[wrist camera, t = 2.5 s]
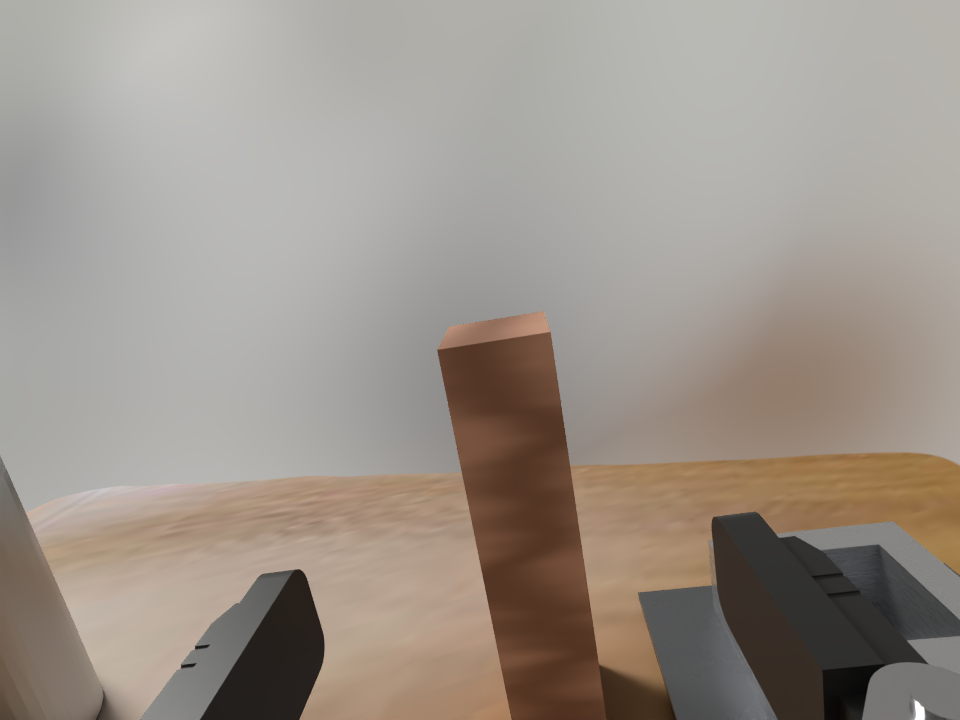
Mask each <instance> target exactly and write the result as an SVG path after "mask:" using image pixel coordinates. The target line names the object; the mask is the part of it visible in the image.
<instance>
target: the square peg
mask: <svg viewBox="0 0 960 720" xmlns="http://www.w3.org/2000/svg"><path fill="white" fill-rule="evenodd" d="M437 351H438V356H439V361H440V366H441V371H442V375H443V381H444V386H445V390H446V395H447V401H448V406H449V410H450V415H451V420H452V425H453V430H454V435H455V440H456V445H457V450H458V455H459V460H460V464H461V470H462V475H463V480H464V485H465V490H466V495H467V500H468V505H469V510H470V515H471V520H472V525H473V530H474V535H475V540H476V545H477V550H478V555H479V560H480V564H481V569H482V574H483V579H484V584H485V589H486V594H487V599H488V604H489V609H490V614H491V619H492V624H493V629H494V634H495V639H496V644H497V649H498V654H499V659H500V664H501V669H502V674H503V679H504V684H505V689H506V694H507V699H508V704H509V709H510V714H511V718H512V720H607V718H606V711H605V704H604V697H603V690H602V683H601V676H600V669H599V663H598V656H597V649H596V642H595V635H594V628H593V621H592V614H591V608H590V601H589V594H588V587H587V580H586V573H585V566H584V559H583V552H582V546H581V539H580V532H579V525H578V518H577V511H576V504H575V497H574V490H573V484H572V477H571V470H570V463H569V456H568V449H567V442H566V435H565V428H564V422H563V415H562V408H561V401H560V394H559V387H558V380H557V373H556V366H555V360H554V353H553V346H552V339H551V333H550V329H549V326H548V323H547V320H546V317H545V314H544V312H537V313H531V314H525V315H519V316H513V317H506V318H500V319H494V320H488V321H481V322H475V323H469V324H463V325H457V326H451V327H449V329H448V331H447V333H446V334H445V336H444V338H443V340H442V342H441V344H440V346H439V348H438V349H437Z"/></svg>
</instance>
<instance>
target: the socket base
mask: <svg viewBox="0 0 960 720" xmlns="http://www.w3.org/2000/svg"><path fill="white" fill-rule="evenodd" d="M776 535H777V536H778V537H779V538H782V537H790V536H796V537H798V538H800V539H801V540H803V541H805V542H807V543H809V544H810V545H812V546H814V547H816V548H818V549H819V550H821V551H823V552H824V553H825V554H826V555H827V556H828V557H829V558H830V559H831V560H832V561H833V563H834V564H835V565H836V566H837V567H838V568H839V569H840V570H841V571H842V572H843V575H844V577H848V579H849V580H850V581H851V582H852V583H853V584H854V585H855V586H856V587H857V588H858V589H859V590H860V594H861V595H864V596H865V597H866V598H867V599H868V600H869V601H870V602H871V603H872V604H873V605H874V606H875V607H876V608H877V609H878V610H879V612H880V613H881V614H882V615H883V616H884V617H885V618H886V619H887V620H888V621H889V622H890V623H891V624H892V625H893V626H894V628H895V629H896V630H897V631H898V632H899V633H900V634H901V635H902V636H903V637H904V638H905V639H906V640H907V641H908V642H909V644H910V645H911V646H912V647H913V648H914V649H915V650H916V651H917V652H918V653H919V654H920V655H921V656H922V657H923V658H924V660H925V661H926V662H927V663H928V664H929V665H933V666H937V667H941V668H945V669H947V670H950V671H953V672H956V673H958V674H960V576H959V575H958V574H957V573H956V572H955V571H953V570H952V569H951V568H950V567H949V566H947V565H946V564H945V563H942V562H941V561H940V560H939V559H937V558H936V557H935V556H934V555H933V554H931V553H930V552H929V551H928V550H927V549H925V548H924V547H923V546H922V545H921V544H919V543H918V542H917V541H916V540H915V539H913V538H912V537H911V536H910V535H909V534H908V533H906V532H905V531H904V530H903V529H902V528H900V527H899V526H898V525H897V524H896V523H894V522H893V521H892V522H882V523H873V524H863V525H854V526H844V527H835V528H826V529H816V530H807V531H797V532H788V533H779V534H776ZM708 542H709V555H710V567H711V580H712V586H703V587H692V588H682V589H672V590H661V591H651V592H640V593H638V595H639V601H640V604H641V608H642V611H643V614H644V618H645V621H646V624H647V628H648V631H649V634H650V637H651V641H652V644H653V647H654V651H655V654H656V657H657V661H658V664H659V667H660V671H661V674H662V677H663V681H664V684H665V687H666V691H667V694H668V697H669V701H670V704H671V707H672V711H673V714H674V717H675V720H778V719H777V717H776V715H775V713H774V711H773V710H772V708H771V706H770V704H769V702H768V700H767V698H766V696H765V694H764V693H763V691H762V689H761V687H760V685H759V683H758V681H757V679H756V678H755V676H754V674H753V672H752V670H751V668H750V666H749V664H748V662H747V661H746V659H745V657H744V655H743V653H742V651H741V649H740V647H739V645H738V644H737V642H736V640H735V638H734V636H733V634H732V632H731V630H730V629H729V627H728V625H727V622H726V620H725V617H724V615H723V612H722V608H721V605H720V601H719V596H718V591H717V581H716V570H715V560H714V549H713V541H708Z"/></svg>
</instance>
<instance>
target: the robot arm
mask: <svg viewBox="0 0 960 720" xmlns="http://www.w3.org/2000/svg"><path fill="white" fill-rule="evenodd" d="M712 538H713V549H714V560H715V570H716V581H717V591H718V596H719V601H720V605H721V608H722V612H723V615H724V617H725V620H726V622H727V625H728V627H729V629H730V630H731V632H732V634H733V636H734V638H735V640H736V642H737V644H738V645H739V647H740V649H741V651H742V653H743V655H744V657H745V659H746V661H747V662H748V664H749V666H750V668H751V670H752V672H753V674H754V676H755V678H756V679H757V681H758V683H759V685H760V687H761V689H762V691H763V693H764V694H765V696H766V698H767V700H768V702H769V704H770V706H771V708H772V710H773V711H774V713H775V715H776V717H777V719H778V720H960V674H958V673H956V672H953V671H950V670H947V669H945V668H941V667H937V666H933V665H929V664H928V663H927V662H926V661H925V660H924V658H923V657H922V656H921V655H920V654H919V653H918V652H917V651H916V650H915V649H914V648H913V647H912V646H911V645H910V644H909V642H908V641H907V640H906V639H905V638H904V637H903V636H902V635H901V634H900V633H899V632H898V631H897V630H896V629H895V628H894V626H893V625H892V624H891V623H890V622H889V621H888V620H887V619H886V618H885V617H884V616H883V615H882V614H881V613H880V612H879V610H878V609H877V608H876V607H875V606H874V605H873V604H872V603H871V602H870V601H869V600H868V599H867V598H866V597H865V596H864V595H861V594H860V590H859V589H858V588H857V587H856V586H855V585H854V584H853V583H852V582H851V581H850V580H849V579H848V577H844V575H843V572H842V571H841V570H840V569H839V568H838V567H837V566H836V565H835V564H834V563H833V561H832V560H831V559H830V558H829V557H828V556H827V555H826V554H825V553H824V552H823V551H821V550H819V549H818V548H816V547H814V546H812V545H810V544H809V543H807V542H805V541H803V540H801V539H800V538H798V537H796V536H790V537H782V538H779V537H778V536H777V535H776V534H775V532H774V531H773V530H772V529H771V528H770V527H769V525H768V524H767V523H766V522H765V521H764V519H763V518H762V517H761V516H760V515H759V514H758V513H757V512H749V513H741V514H733V515H725V516H717V517H713V519H712ZM323 658H324V635H323V631H322V628H321V624H320V621H319V618H318V614H317V611H316V608H315V604H314V601H313V598H312V594H311V591H310V587H309V584H308V581H307V578H306V576H305V574H304V573H303V571H301V570H299V569H298V570H289V571H282V572H274V573H266V574H262V575H260V576H259V577H258V578H257V580H256V581H255V582H254V584H253V585H252V587H251V588H250V589H249V591H248V592H247V594H246V595H245V596H244V598H243V599H242V601H241V602H240V603H237V604H235V605H233V606H232V607H231V608H230V609H229V610H228V611H226V612H225V613H224V614H223V615H222V616H220V617H219V618H218V619H217V620H216V621H214V622H213V623H212V624H211V625H210V627H209V628H208V629H207V631H206V632H205V633H204V635H203V636H202V637H201V639H200V640H199V641H198V643H197V644H196V645H195V650H192V651H191V652H190V653H189V655H188V656H187V657H186V659H185V660H184V661H183V663H182V664H181V669H179V670H177V671H176V672H175V673H174V675H173V676H172V678H171V679H170V680H169V682H168V683H167V684H166V686H165V687H164V688H163V690H162V691H161V692H160V694H159V695H158V696H157V698H156V699H155V700H154V702H153V703H152V704H151V706H150V707H149V708H148V710H147V711H146V712H145V714H144V715H143V716H142V718H141V719H140V720H299V719H300V716H301V714H302V712H303V709H304V707H305V705H306V702H307V700H308V698H309V695H310V693H311V691H312V688H313V686H314V684H315V681H316V679H317V677H318V674H319V672H320V670H321V667H322V663H323ZM103 697H104V696H103V691H102V686H101V684H100V682H99V680H98V677H97V675H96V673H95V670H94V668H93V666H92V663H91V661H90V659H89V657H88V654H87V652H86V650H85V647H84V645H83V643H82V641H81V638H80V636H79V634H78V631H77V628H76V626H75V624H74V621H73V619H72V617H71V615H70V612H69V610H68V608H67V606H66V603H65V601H64V599H63V596H62V594H61V592H60V590H59V587H58V585H57V583H56V581H55V578H54V576H53V574H52V572H51V569H50V567H49V565H48V562H47V560H46V558H45V556H44V553H43V551H42V549H41V547H40V544H39V542H38V540H37V537H36V535H35V533H34V531H33V528H32V526H31V524H30V522H29V519H28V517H27V515H26V512H25V510H24V508H23V506H22V503H21V501H20V499H19V497H18V494H17V492H16V490H15V488H14V485H13V483H12V481H11V478H10V476H9V474H8V472H7V469H6V467H5V465H4V463H3V461H2V459H1V457H0V720H96V718H97V716H98V714H99V712H100V710H101V707H102V702H103Z"/></svg>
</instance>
